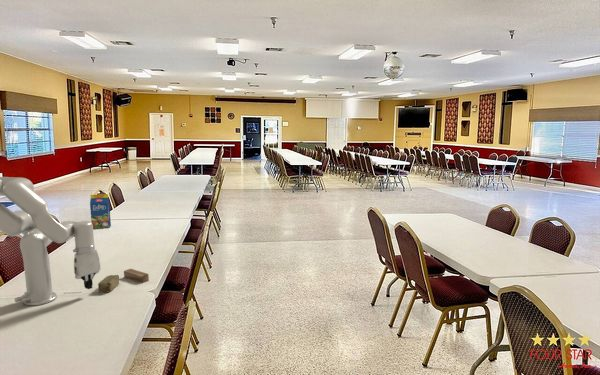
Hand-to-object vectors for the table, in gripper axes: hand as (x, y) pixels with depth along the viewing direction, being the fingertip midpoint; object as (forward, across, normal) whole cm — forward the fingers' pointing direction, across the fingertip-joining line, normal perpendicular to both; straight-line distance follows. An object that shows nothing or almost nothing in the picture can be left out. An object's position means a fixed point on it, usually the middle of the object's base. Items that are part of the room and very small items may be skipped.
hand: (88, 288), depth 190 cm
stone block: (+4, +10, +1) cm, 11 cm away
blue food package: (+4, +77, +112) cm, 136 cm away
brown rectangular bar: (+4, +25, 0) cm, 25 cm away
